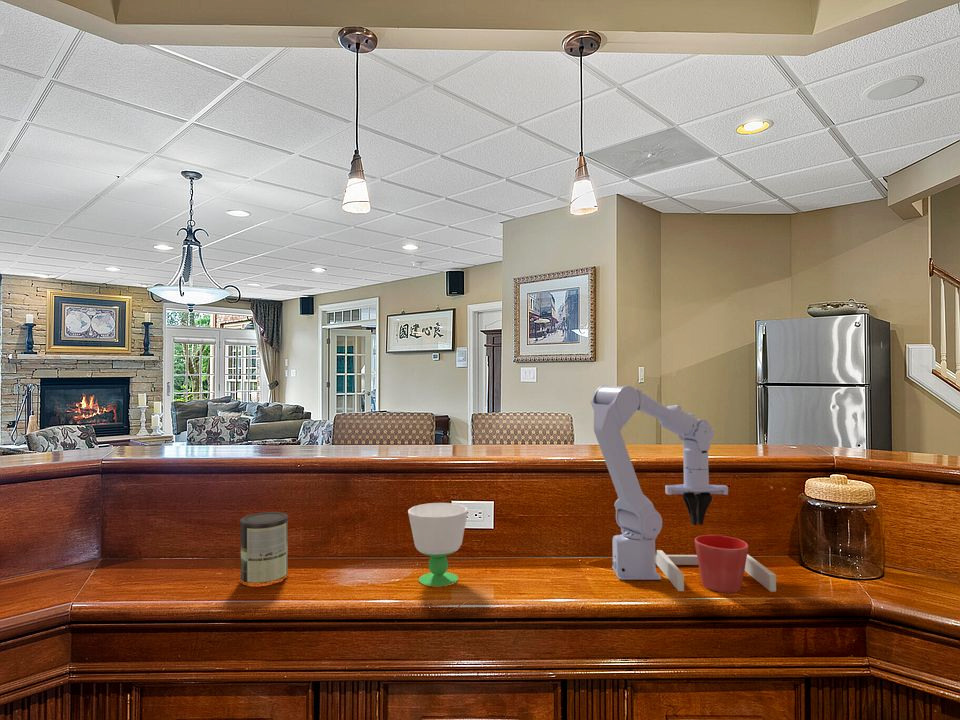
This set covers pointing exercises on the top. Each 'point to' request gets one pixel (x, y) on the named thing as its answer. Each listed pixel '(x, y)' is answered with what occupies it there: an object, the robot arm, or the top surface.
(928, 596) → the top surface
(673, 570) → the u-shaped frame
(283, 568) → the coffee can
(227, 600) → the top surface
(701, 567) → the flower pot
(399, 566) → the top surface
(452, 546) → the cup
